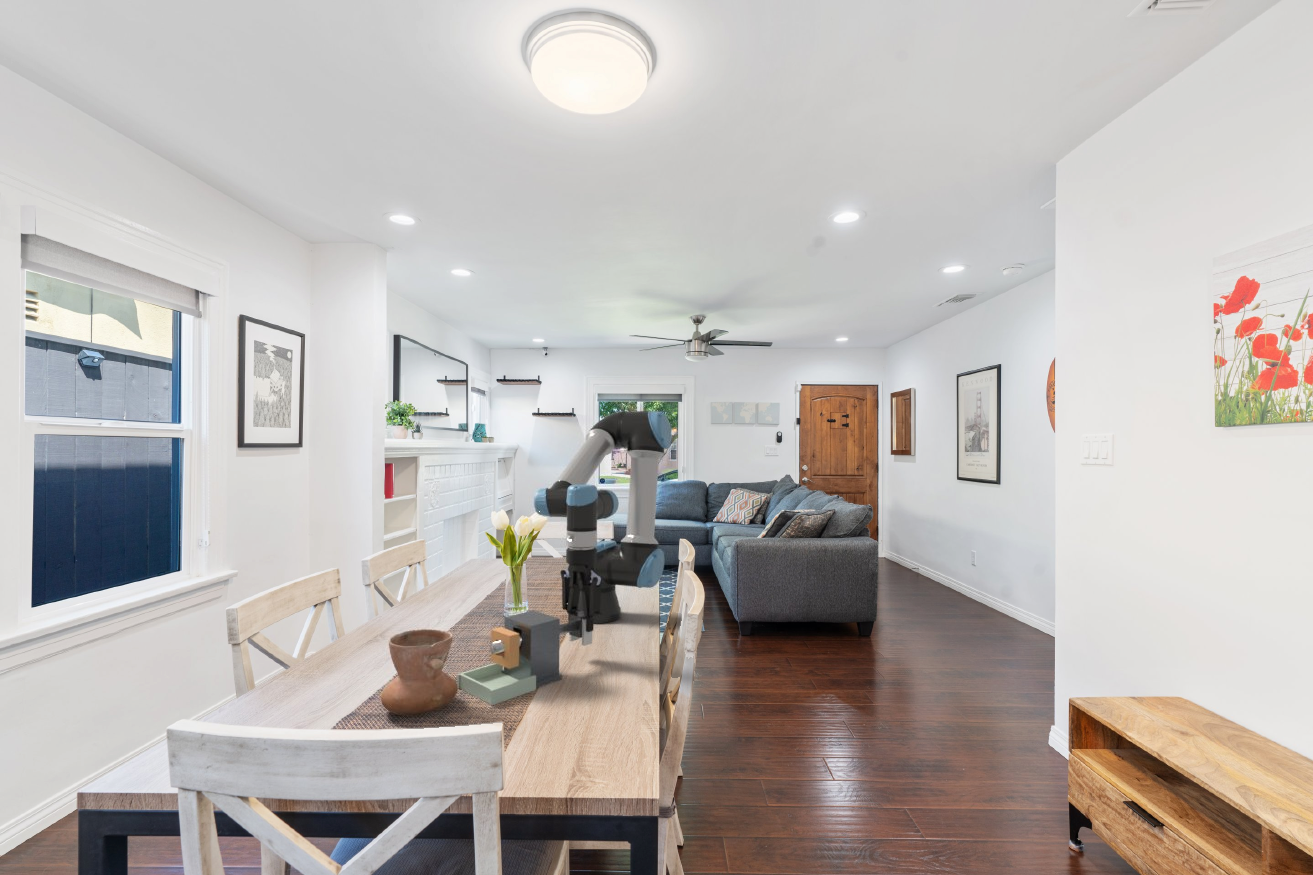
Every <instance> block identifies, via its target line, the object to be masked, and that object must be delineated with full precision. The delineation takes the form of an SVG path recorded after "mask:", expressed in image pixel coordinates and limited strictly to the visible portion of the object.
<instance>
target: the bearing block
mask: <svg viewBox="0 0 1313 875" xmlns="http://www.w3.org/2000/svg"><path fill="white" fill-rule="evenodd" d="M560 619H561V618H558V617H555V616H552V615H549V614H545V613H542V612H539V611H536V610H530V611H526V612H521V613H518V614H517V613H516V614H513V615H509V616H505V617H504V628H505V629H508V630H511V631H513V632H516V633H519V635H522V645H521V647H519V666H517V667H514V668H510V669H508V668H506V667H504V666H503V671H501V673H503V674H506V675H508V676H510V677H513V678H515V679H517V680H521V679H524V678H527V677H530V676H533V675H535V676H536V689H538V688H540V687H541V688H542V687H543V686H544V687H545V686H546V685H549V684H550V685H551V684H552V683H555V682H558V681H561V680H562V679H563V674H561V673H560V637H561V635H560V623H561V620H560Z"/></svg>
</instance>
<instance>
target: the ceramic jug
mask: <svg viewBox="0 0 1313 875" xmlns="http://www.w3.org/2000/svg"><path fill="white" fill-rule="evenodd" d="M452 643H453V633H452V632H450V631H446V630H439V629H430V628H429V629H427V628H426V629H424V628H422V629H412V630H411V629H410V630H407V631H406V630H405V631H403V632H399V633H396V634H393V636H391V637H390V638H389V639H388V647H389V648H388V649H389V654H390V658H391V662H392V663H393V666H394V668H395V671H396V674H397V675H396V677H394V679H392V680H391V681H389V683H387V684H386V685H385V687H383V689H382V691H381V694H380V701H381V704H382V706H383V707H384V708H385V710H386V711H388V712H390V713H393V714H395V715H400V716H409V717H410V716H411V717H412V716H422V715H425V714H430V713H433V712H437V711H438V710H440V709H442V708H444V707H446V706H447V705H449V704H450V703H451V702H452V701H453V700H454V699H455V698H456V696H457V693H458V690H459V689H458V686H457V681H456V680H455V678H454V677H452V676H451V675H449V674H448V673H446V672H445V671H443V668H444V666H445V664H446V661H447V659H448V656H449V653H450V650H451V647H452Z"/></svg>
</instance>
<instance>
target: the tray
mask: <svg viewBox="0 0 1313 875" xmlns="http://www.w3.org/2000/svg"><path fill="white" fill-rule="evenodd" d="M503 670H504V666H501V665H499V664H497V663H494V662H492V663H491V664H487V665H484V666H480V667H477V668H474V669H469V670H468V671H464V672H460V673H457V674H456V680H457V681H456V683H457V686H458V690H459V689H460V690H462V691H463V692H466V693H468V694H470V695H472V696H473V697H475V698H478V699H479V700H481V701H484V702H485V703H488V704H489V706H494V705H496V704H499V703H503V702H505V701H509V700H510V699H513V698H517V697H519V696H523V695H525V694H527V693H530V692H533V691H536V689H537V688H536V676H535V675H533V676H530V677H527V678H524V679H521V680H517V679H515V678H513V677H510V676H508V675H506V674H503V673H501V671H503Z"/></svg>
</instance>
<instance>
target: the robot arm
mask: <svg viewBox="0 0 1313 875" xmlns="http://www.w3.org/2000/svg"><path fill="white" fill-rule="evenodd" d="M671 443H672V428H671V424H670V421H669V418H668V417H667V414H665V413H664V412H662V411H658V410H657V411H655V410H642V411H641V410H640V411H639V410H636V411H635V410H633V411H624V410H623V411H616V412H613V413H610V414H608V415H607V416H605V417H603V418H602V419H600V420H599V421H598V422H596V423H595V424H594V425H593V426H592V427H591V428H590V430H589V431H588V432H587V433H586V435H585V441H584V443H583V444H582V445H581V446H580V448H579V449H578V451H577V452H576V453H575V455H574V456H573V458H572V459H571V461H570V462H569V463H568V464H567V465H566V467H565V468H564V470H563V471H562V472H561V473H560V475H559V477H557V479H556V481H555V482H554V483H553V484H552V485H551V487H549V488H548V487H545V488H539V489H538V490H537V491H536V492H535V494H534V498H533V507H534V509H535V512H536V514H538V515H539V516H542V517H543V516H544V517H549V518H566V546H567V548H566V551H565V554H566V555H565V562H566V563H567V564H568V567H567V569H562V570H560V576H561V596H562V597H561V598H562V599H561V600H562V602H561V605H562V606H561V608H562V610H563V611H566V612H567V614H568V615H567V618H568V621H567V623H568V622H569V614H572V613H576V612H580V611H583V612H584V617H582V637H581V646H582V647H583V646H588V645H592V644H593V631H594V624H605V623H610V622H614V621H617V620H619V619H620V618H621V617H622V609H621V608H622V607H621V606H620V603H619V598H618V596H617V593H616V586H623V587H625V586H626V587H632V588H634V587H635V588H639V589H641V588H646V589H648V588H649V589H651V588H654V587H655V586H656V585H657V584H658V583H659V581H660V579H661V577H662V575H663V571H664V568H665V561H666V560H665V553H664V551H663V550H662V549H661V548H659V542H658V541H657V538H655V529H656V528H655V527H656V511H657V497H658V496H657V493H658V480H659V477H658V476H659V462H660V459H661V458H662V457H664V456H665V449H669V448H670V447H671ZM616 449H626V454H628V455H629V457H630V460H631V461H630V474H629V476H630V477H629V487H628V488H629V491H628V504H627V517H626V519H627V520H626V534H625V536H624V537H623V538H622V539H621V540H620V545H619V546H617V542H616V541H615V540H602V541H601V540H598V521H599V520H602V519H607V518H609V517H612V516H614V515H615V514H616V512H617V511H618V509H619V504H620V502H619V498H618V496H617V495H616V493H615V492H614V491H612V490H609V489H599V490H598V487H597V486H596V485H595V484H588V482H589V481H590V479H591V478H592V477H593V475H594V473H595V472H596V470H597V469H598V468H599V466H600V464H601V463H602V462H603V460H604V458H605V457H606V456H608V455H610V454H611V453H612V452H613V451H614V450H616ZM539 511H540V512H539ZM568 635H569V634H568ZM578 640H580V638H578V637H575V636H572V635H569V636H568V641H569V642H574V641H578Z"/></svg>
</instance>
